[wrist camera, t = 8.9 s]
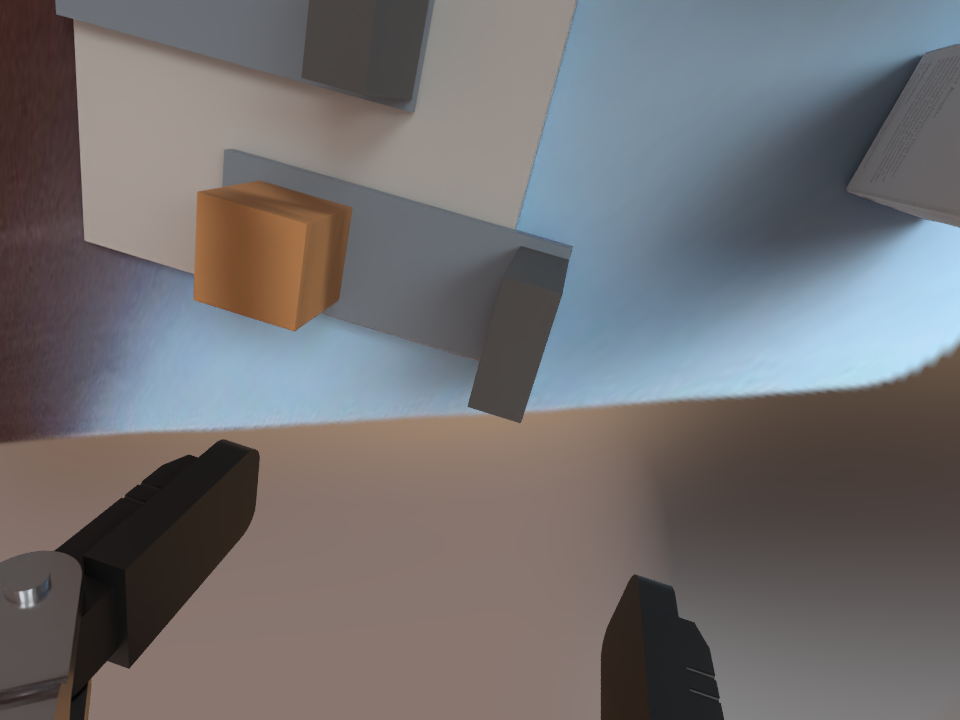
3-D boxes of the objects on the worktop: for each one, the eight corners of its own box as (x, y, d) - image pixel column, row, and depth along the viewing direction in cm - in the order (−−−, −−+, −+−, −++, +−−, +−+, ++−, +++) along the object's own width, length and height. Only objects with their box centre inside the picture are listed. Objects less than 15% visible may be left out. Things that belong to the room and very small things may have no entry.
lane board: (588, -36, 25) (587, -42, 24) (482, 354, 33) (478, 361, 32) (82, -163, 26) (64, -174, 25) (98, 237, 34) (84, 240, 33)
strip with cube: (572, 246, 28) (566, 281, 22) (533, 370, 31) (517, 432, 25) (233, 148, 29) (137, 156, 23) (226, 277, 32) (138, 314, 26)
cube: (352, 207, 29) (306, 224, 24) (339, 299, 31) (294, 331, 26) (259, 180, 29) (197, 191, 24) (252, 273, 31) (193, 300, 26)
